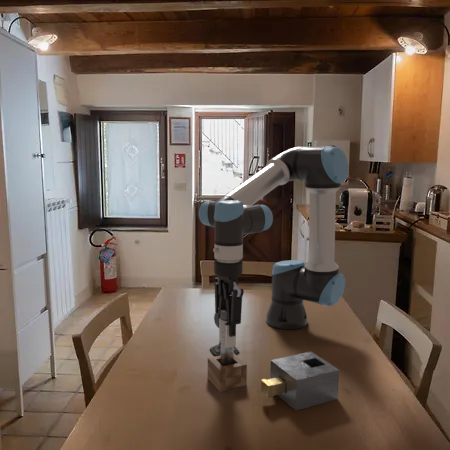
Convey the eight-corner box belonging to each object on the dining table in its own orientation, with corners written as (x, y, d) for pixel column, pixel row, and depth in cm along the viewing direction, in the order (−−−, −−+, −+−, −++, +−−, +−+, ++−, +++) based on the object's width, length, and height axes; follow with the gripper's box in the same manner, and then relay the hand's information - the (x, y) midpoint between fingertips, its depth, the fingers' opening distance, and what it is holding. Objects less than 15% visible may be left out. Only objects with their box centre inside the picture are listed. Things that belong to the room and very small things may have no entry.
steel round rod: (229, 368, 128) (230, 307, 125) (235, 374, 125) (236, 311, 122) (217, 371, 126) (218, 309, 124) (223, 377, 123) (224, 313, 120)
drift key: (261, 391, 116) (261, 379, 116) (291, 384, 120) (291, 372, 120) (268, 398, 113) (268, 386, 113) (298, 390, 117) (299, 378, 117)
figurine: (237, 359, 140) (238, 312, 138) (206, 355, 142) (206, 309, 140) (242, 347, 148) (242, 303, 146) (212, 344, 150) (212, 300, 148)
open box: (233, 372, 131) (233, 352, 130) (246, 385, 124) (246, 364, 123) (207, 378, 128) (207, 357, 127) (219, 391, 121) (219, 370, 120)
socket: (269, 388, 123) (270, 360, 122) (309, 378, 128) (310, 351, 127) (295, 410, 112) (296, 380, 111) (337, 399, 118) (339, 369, 117)
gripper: (203, 254, 126) (202, 335, 130) (229, 268, 112) (228, 358, 115) (227, 252, 129) (226, 330, 133) (256, 265, 115) (254, 353, 119)
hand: (227, 343), depth 124 cm, fingers closed on steel round rod, 3 cm apart
